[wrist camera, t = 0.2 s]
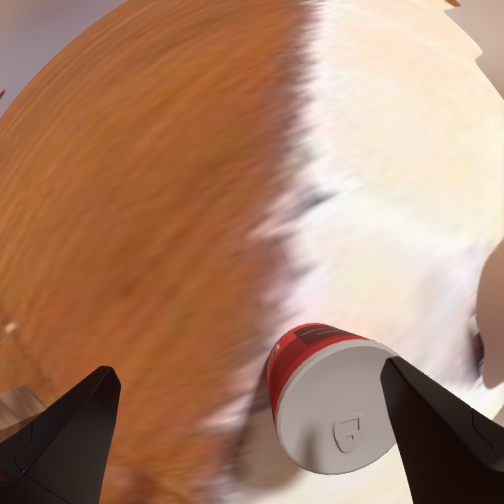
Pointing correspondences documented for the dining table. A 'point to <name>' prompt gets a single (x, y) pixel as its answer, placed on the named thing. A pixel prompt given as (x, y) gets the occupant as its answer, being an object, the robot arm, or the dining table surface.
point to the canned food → (329, 398)
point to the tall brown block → (18, 410)
